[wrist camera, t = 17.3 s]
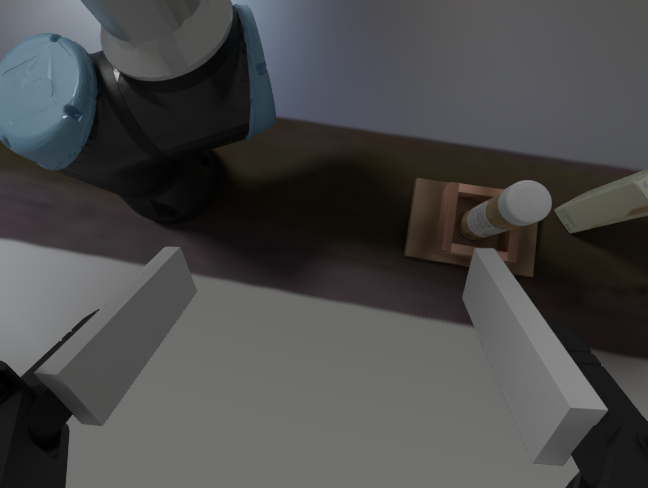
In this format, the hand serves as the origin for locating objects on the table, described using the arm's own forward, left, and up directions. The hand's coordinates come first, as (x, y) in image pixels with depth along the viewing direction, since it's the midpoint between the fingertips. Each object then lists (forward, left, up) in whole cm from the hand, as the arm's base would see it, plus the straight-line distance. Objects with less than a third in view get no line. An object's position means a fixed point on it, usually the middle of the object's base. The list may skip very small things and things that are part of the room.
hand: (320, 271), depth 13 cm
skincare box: (+27, +27, -32) cm, 50 cm away
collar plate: (+14, +17, -32) cm, 38 cm away
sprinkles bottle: (+14, +17, -30) cm, 37 cm away
